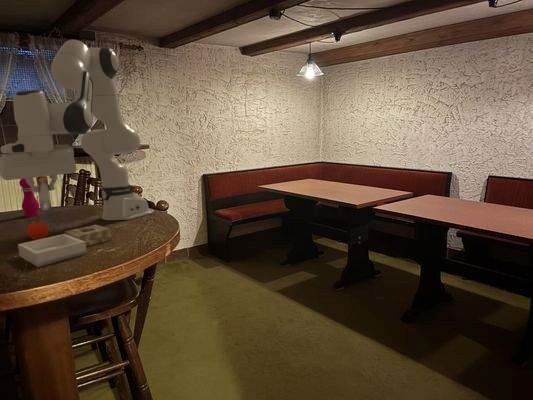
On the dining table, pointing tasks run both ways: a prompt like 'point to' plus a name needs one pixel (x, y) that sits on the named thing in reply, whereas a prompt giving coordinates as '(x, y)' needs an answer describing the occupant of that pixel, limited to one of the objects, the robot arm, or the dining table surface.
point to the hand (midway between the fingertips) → (43, 191)
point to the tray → (51, 249)
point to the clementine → (37, 230)
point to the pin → (44, 193)
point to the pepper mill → (29, 200)
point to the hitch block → (91, 234)
